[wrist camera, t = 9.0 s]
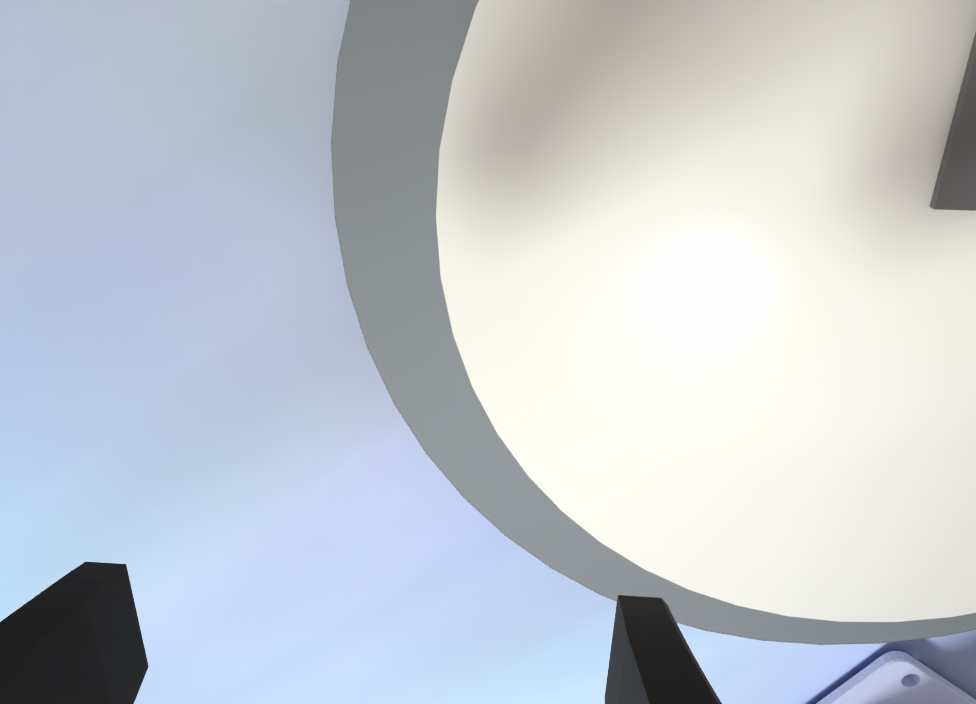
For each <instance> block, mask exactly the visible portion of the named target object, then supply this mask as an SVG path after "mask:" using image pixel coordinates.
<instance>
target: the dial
mask: <svg viewBox="0 0 976 704" xmlns="http://www.w3.org/2000/svg"><path fill="white" fill-rule="evenodd" d="M436 225H437V237H438V250H439V263H440V275H441V282H442V286H443V291H444V295H445V300H446V304H447V309H448V314H449V318H450V323H451V327H452V332H453V336H454V339H455V341H456V344H457V347H458V349H459V352H460V355H461V358H462V360H463V363H464V366H465V368H466V371H467V374H468V377H469V379H470V382H471V385H472V387H473V389H474V391H475V393H476V395H477V397H478V399H479V400H480V402H481V404H482V406H483V408H484V410H485V412H486V414H487V415H488V417H489V419H490V421H491V423H492V425H493V427H494V428H495V430H496V432H497V434H498V435H499V437H500V438H501V440H502V441H503V442H504V444H505V445H506V446H507V448H508V449H509V451H510V452H511V453H512V455H513V456H514V457H515V459H516V460H517V462H518V463H519V464H520V466H521V467H522V468H523V470H524V471H525V473H526V474H527V475H528V476H529V477H530V478H531V479H532V481H533V482H534V483H535V484H536V485H537V486H538V487H539V488H540V489H541V490H542V491H543V492H544V493H545V494H546V495H547V496H548V497H549V498H550V499H551V500H552V501H553V502H554V504H555V505H556V506H557V507H558V508H559V509H560V510H561V511H562V512H563V513H565V514H566V515H567V516H568V517H570V518H571V519H572V520H573V521H575V522H576V523H577V524H578V525H580V526H581V527H582V528H583V529H584V530H586V531H587V532H588V533H589V534H591V535H592V536H593V537H594V538H596V539H597V540H598V541H599V542H601V543H602V544H604V545H605V546H607V547H609V548H610V549H612V550H614V551H615V552H617V553H618V554H620V555H622V556H623V557H625V558H627V559H628V560H630V561H631V562H633V563H635V564H636V565H638V566H640V567H641V568H643V569H645V570H647V571H649V572H651V573H654V574H656V575H658V576H660V577H662V578H664V579H667V580H669V581H671V582H673V583H675V584H677V585H680V586H682V587H684V588H686V589H688V590H691V591H694V592H697V593H700V594H703V595H706V596H709V597H713V598H716V599H719V600H722V601H725V602H728V603H731V604H734V605H737V606H742V607H746V608H751V609H756V610H761V611H765V612H770V613H775V614H780V615H784V616H790V617H800V618H809V619H819V620H828V621H838V622H902V621H913V620H925V619H936V618H948V617H955V616H960V615H966V614H971V613H976V0H479V2H478V4H477V6H476V8H475V11H474V14H473V18H472V21H471V24H470V27H469V30H468V33H467V36H466V39H465V43H464V46H463V49H462V52H461V55H460V58H459V61H458V64H457V67H456V71H455V74H454V77H453V80H452V85H451V90H450V96H449V101H448V107H447V112H446V117H445V123H444V128H443V134H442V139H441V144H440V150H439V167H438V185H437V204H436Z"/></svg>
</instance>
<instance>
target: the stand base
mask: <svg viewBox="0 0 976 704" xmlns="http://www.w3.org/2000/svg"><path fill="white" fill-rule="evenodd" d="M478 2H479V0H350V5H349V10H348V15H347V19H346V24H345V29H344V34H343V39H342V44H341V48H340V53H339V58H338V63H337V75H336V87H335V100H334V113H333V125H332V138H331V150H332V170H333V190H334V211H335V221H336V226H337V232H338V237H339V243H340V248H341V254H342V259H343V265H344V270H345V276H346V281H347V286H348V289H349V292H350V295H351V299H352V302H353V305H354V308H355V311H356V314H357V317H358V320H359V323H360V327H361V330H362V333H363V336H364V339H365V342H366V345H367V348H368V350H369V352H370V354H371V356H372V359H373V361H374V363H375V365H376V367H377V369H378V371H379V373H380V375H381V378H382V380H383V382H384V384H385V386H386V388H387V390H388V392H389V394H390V396H391V399H392V401H393V403H394V405H395V406H396V408H397V409H398V411H399V412H400V414H401V415H402V417H403V418H404V420H405V422H406V423H407V425H408V426H409V428H410V429H411V431H412V432H413V434H414V435H415V437H416V439H417V440H418V442H419V443H420V445H421V446H422V448H423V449H424V451H425V452H426V454H427V455H428V456H429V457H430V459H431V460H432V461H433V462H434V463H435V465H436V466H437V467H438V468H439V469H440V470H441V472H442V473H443V474H444V475H445V476H446V477H447V479H448V480H449V481H450V482H451V483H452V484H453V486H454V487H455V488H456V489H457V490H458V492H459V493H460V494H461V495H462V496H463V497H464V498H465V499H466V500H467V501H468V502H469V503H470V504H471V505H472V506H473V507H474V508H476V509H477V510H478V511H479V512H480V513H481V514H482V515H483V516H484V517H485V518H487V519H488V520H489V521H490V522H491V523H492V524H493V525H494V526H495V527H496V528H498V529H499V530H500V531H501V532H502V533H503V534H504V535H505V536H506V537H508V538H509V539H511V540H512V541H514V542H515V543H516V544H518V545H519V546H521V547H522V548H523V549H525V550H526V551H528V552H529V553H530V554H532V555H533V556H535V557H536V558H538V559H539V560H540V561H542V562H543V563H545V564H546V565H547V566H549V567H550V568H552V569H554V570H556V571H557V572H559V573H561V574H563V575H565V576H567V577H568V578H570V579H572V580H574V581H576V582H578V583H580V584H581V585H583V586H585V587H587V588H589V589H591V590H592V591H594V592H596V593H598V594H600V595H602V596H605V597H607V598H610V599H612V600H615V601H617V599H618V595H625V596H641V597H657V598H662V599H663V600H664V602H665V603H666V604H667V605H668V607H669V609H670V611H671V613H672V615H673V617H674V619H675V621H676V622H677V623H680V624H684V625H687V626H691V627H694V628H698V629H701V630H705V631H710V632H716V633H722V634H727V635H733V636H739V637H745V638H751V639H757V640H762V641H776V642H790V643H804V644H818V645H832V644H874V643H889V642H897V641H906V640H915V639H923V638H932V637H940V636H947V635H951V634H956V633H961V632H966V631H971V630H975V629H976V613H971V614H966V615H960V616H955V617H948V618H936V619H925V620H913V621H902V622H838V621H828V620H819V619H809V618H800V617H790V616H784V615H780V614H775V613H770V612H765V611H761V610H756V609H751V608H746V607H742V606H737V605H734V604H731V603H728V602H725V601H722V600H719V599H716V598H713V597H709V596H706V595H703V594H700V593H697V592H694V591H691V590H688V589H686V588H684V587H682V586H680V585H677V584H675V583H673V582H671V581H669V580H667V579H664V578H662V577H660V576H658V575H656V574H654V573H651V572H649V571H647V570H645V569H643V568H641V567H640V566H638V565H636V564H635V563H633V562H631V561H630V560H628V559H627V558H625V557H623V556H622V555H620V554H618V553H617V552H615V551H614V550H612V549H610V548H609V547H607V546H605V545H604V544H602V543H601V542H599V541H598V540H597V539H596V538H594V537H593V536H592V535H591V534H589V533H588V532H587V531H586V530H584V529H583V528H582V527H581V526H580V525H578V524H577V523H576V522H575V521H573V520H572V519H571V518H570V517H568V516H567V515H566V514H565V513H563V512H562V511H561V510H560V509H559V508H558V507H557V506H556V505H555V504H554V502H553V501H552V500H551V499H550V498H549V497H548V496H547V495H546V494H545V493H544V492H543V491H542V490H541V489H540V488H539V487H538V486H537V485H536V484H535V483H534V482H533V481H532V479H531V478H530V477H529V476H528V475H527V474H526V473H525V471H524V470H523V468H522V467H521V466H520V464H519V463H518V462H517V460H516V459H515V457H514V456H513V455H512V453H511V452H510V451H509V449H508V448H507V446H506V445H505V444H504V442H503V441H502V440H501V438H500V437H499V435H498V434H497V432H496V430H495V428H494V427H493V425H492V423H491V421H490V419H489V417H488V415H487V414H486V412H485V410H484V408H483V406H482V404H481V402H480V400H479V399H478V397H477V395H476V393H475V391H474V389H473V387H472V385H471V382H470V379H469V377H468V374H467V371H466V368H465V366H464V363H463V360H462V358H461V355H460V352H459V349H458V347H457V344H456V341H455V339H454V336H453V332H452V327H451V323H450V318H449V314H448V309H447V304H446V300H445V295H444V291H443V286H442V282H441V275H440V263H439V250H438V237H437V225H436V204H437V185H438V167H439V150H440V144H441V139H442V134H443V128H444V123H445V117H446V112H447V107H448V101H449V96H450V90H451V85H452V80H453V77H454V74H455V71H456V67H457V64H458V61H459V58H460V55H461V52H462V49H463V46H464V43H465V39H466V36H467V33H468V30H469V27H470V24H471V21H472V18H473V14H474V11H475V8H476V6H477V4H478Z"/></svg>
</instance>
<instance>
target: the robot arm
mask: <svg viewBox="0 0 976 704" xmlns="http://www.w3.org/2000/svg"><path fill="white" fill-rule="evenodd" d="M147 669H148V662H147V658H146V653H145V649H144V644H143V640H142V635H141V631H140V626H139V622H138V617H137V612H136V608H135V603H134V599H133V594H132V590H131V585H130V581H129V576H128V572H127V567H126V564H113V563H97V562H85V563H83V564H82V565H80V566H79V567H77V568H76V569H74V570H73V571H71V572H70V573H68V574H67V575H65V576H64V577H62V578H61V579H60V580H58V581H57V582H55V583H54V584H52V585H51V586H50V587H48V588H47V589H45V590H44V591H43V592H41V593H40V594H38V595H37V596H36V597H34V598H33V599H32V600H30V601H29V602H27V603H26V604H25V605H23V606H22V607H20V608H19V609H18V610H16V611H15V612H14V613H12V614H11V615H9V616H8V617H7V618H5V619H4V620H2V621H1V622H0V704H134V701H135V699H136V696H137V694H138V691H139V689H140V686H141V684H142V681H143V679H144V676H145V674H146V671H147ZM908 674H910V675H908ZM906 675H908V676H906ZM605 704H722V703H721V702H720V700H719V698H718V697H717V695H716V693H715V692H714V690H713V688H712V687H711V685H710V683H709V682H708V680H707V678H706V677H705V675H704V673H703V671H702V670H701V668H700V666H699V664H698V662H697V661H696V659H695V657H694V655H693V654H692V652H691V650H690V648H689V646H688V644H687V643H686V641H685V639H684V637H683V635H682V633H681V631H680V629H679V627H678V625H677V623H676V621H675V619H674V617H673V615H672V613H671V611H670V609H669V607H668V605H667V604H666V603H665V602H664V600H663V599H662V598H657V597H641V596H625V595H618V599H617V607H616V614H615V622H614V630H613V638H612V646H611V654H610V661H609V669H608V677H607V685H606V693H605ZM816 704H976V699H974V698H973V697H971V696H970V695H968V694H967V693H965V692H964V691H962V690H961V689H959V688H958V687H956V686H955V685H953V684H952V683H950V682H949V681H947V680H946V679H944V678H943V677H941V676H940V675H938V674H937V673H935V672H934V671H932V670H931V669H929V668H928V667H926V666H925V665H923V664H922V663H920V662H919V661H918V660H916V659H915V658H913V657H912V656H910V655H909V654H907V653H905V652H902V651H890V652H887V653H885V654H883V655H882V656H880V657H879V658H878V659H876V660H875V661H873V662H872V663H871V664H869V665H868V666H867V667H865V668H864V669H863V670H861V671H860V672H858V673H857V674H856V675H854V676H853V677H852V678H850V679H849V680H848V681H846V682H845V683H844V684H842V685H841V686H839V687H838V688H837V689H835V690H834V691H833V692H831V693H830V694H829V695H827V696H826V697H824V698H823V699H822V700H820V701H819V702H818V703H816Z"/></svg>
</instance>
